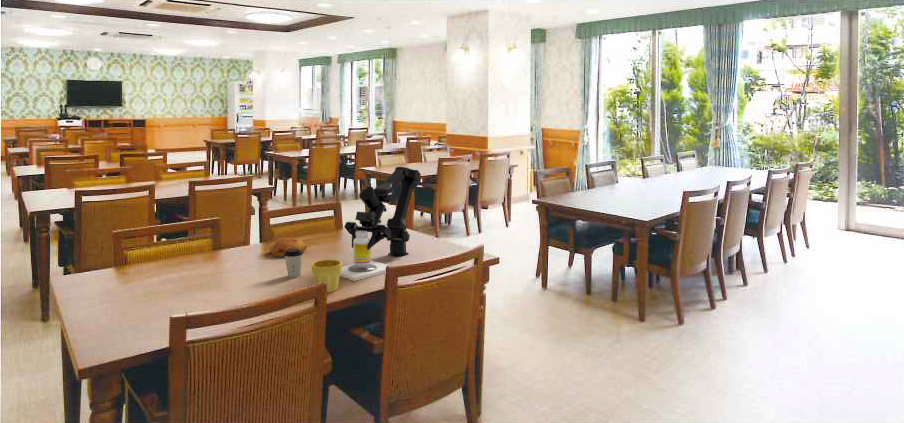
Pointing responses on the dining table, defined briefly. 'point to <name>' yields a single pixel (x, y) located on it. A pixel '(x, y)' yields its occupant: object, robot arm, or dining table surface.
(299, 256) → the coffee cup
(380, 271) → the mount base
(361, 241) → the supplement bottle
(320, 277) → the plant pot
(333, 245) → the dining table surface
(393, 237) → the robot arm
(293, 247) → the croissant
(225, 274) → the dining table surface
